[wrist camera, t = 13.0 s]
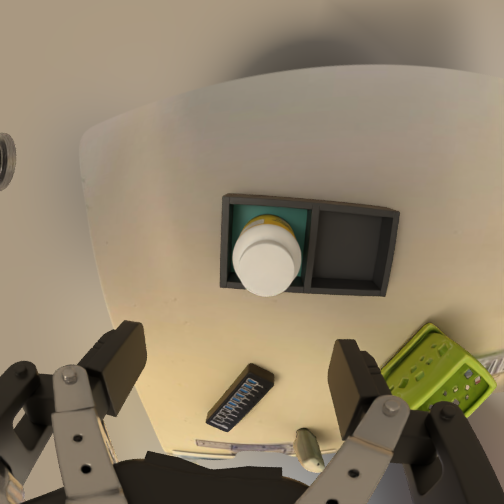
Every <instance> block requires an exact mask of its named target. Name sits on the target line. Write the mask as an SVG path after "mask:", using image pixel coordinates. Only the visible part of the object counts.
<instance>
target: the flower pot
mask: <svg viewBox="0 0 504 504" xmlns="http://www.w3.org/2000/svg"><path fill="white" fill-rule="evenodd" d="M469 369H470V370H471V371H472V373H473V374H472V376H471V377H469V378H468V379H467V378H466V376H465V375H464V374H465V373H466V372H467V371H468V370H469ZM381 374H382V375H383V377H384V379H385V381H386V383H387V385H388V387H389V389H390V391H391V393H392V395H394V396H397V397H400V398H402V399H403V400H404V401H406V402H407V404H408V405H409V408H410V409H412V410H420V411H430V409H429V406H430V405H434V404H435V403H437V402H440V401H448V402H453V401H454V400H455V399H457V400H458V401H459V405H458V406H459V407H460V408H461V410H462V411H463V413H464V415H465V417H466V418H467V417H468V416H470V414H472V413H473V411H475V410H476V409H477V408H478V407H479V406H480V405H481V404H482V403H483V402H484V401H485V399H486V398H487V397H488V396H489V395H490V394H491V393H492V392H493V391H494V389H495V388H496V386H497V384H496V382H495V380H494V378H493V377H492V376H491V374H490V373H489V372H488V371H487V370H486V369H485V367H484V366H483V365H482V364H481V363H480V362H479V361H478V360H477V359H476V358H474V357H473V356H472V355H471V354H470V353H469V352H468V351H466V350H465V349H464V348H463V347H461V346H460V345H459V344H457V343H456V342H454V341H453V340H451V339H450V338H448V337H447V336H446V335H445V334H444V333H443V332H442V331H441V330H440V329H438V328H437V327H436V326H435V325H433V324H432V323H427V324H426V325H424V326H423V327H422V329H421V330H420V331H419V332H418V333H417V334H416V335H415V336H414V337H413V338H412V339H411V340H410V341H409V342H408V343H407V344H406V345H405V346H404V347H403V348H402V349H401V350H400V352H399V353H398V354H397V355H396V356H395V357H394V358H393V359H392V360H391V361H390V362H389V363H388V364H387V365H386V366H385V367H384V368H383V369H382V370H381ZM478 376H480V380H481V381H480V383H478V384H475V379H476V378H477V377H478ZM466 385H469V386H470V388H469V390H466ZM455 387H457V388H458V390H457V391H456V392H454V388H455ZM445 391H446V392H447V395H446V396H445V395H444V392H445ZM467 395H468V396H469V397H468V399H466V396H467Z"/></svg>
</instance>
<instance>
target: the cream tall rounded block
mask: <svg viewBox="0 0 504 504" xmlns="http://www.w3.org/2000/svg"><path fill="white" fill-rule="evenodd" d="M296 433H297V436H296V440H295V442H294V444H293V448H294V450H295V453H296V456H297V458H298V460H299V462H300V463H301V465H302V466H303V467H304V468H305V469H307V470H308V471H311V472H322V471H323V470H324V468H325V465H324V461H323V458H322V455H321V452H320V448H319V445H318V442H317V440H316V437H315V436H314V435H313V434H312V433H311V432H310V431H309V430H308V429H306V428H302V429H299V430H298V431H297V432H296Z"/></svg>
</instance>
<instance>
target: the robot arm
mask: <svg viewBox="0 0 504 504" xmlns="http://www.w3.org/2000/svg"><path fill="white" fill-rule="evenodd" d="M3 165H4V152H3V147H2V145H1V143H0V177H1V174H2V170H3ZM146 360H147V351H146V344H145V336H144V328H143V325H142V323H140V322H133V321H127V320H124V321H123V322H122V323H121V324H120V326H119V327H118V328H117V329H116V330H114V329H113V330H111V331H109V332H107V333H105V334H104V335H103V336H102V337H101V338H100V339H99V340H98V342H96V343H95V345H94V346H93V348H91V349H90V350H89V351H88V353H87V354H86V355H85V356H84V357H83V358H82V359H81V361H80V362H79V363H78V364H77V365H66V366H63V367H61V368H59V369H58V370H57V371H55V373H54V374H53V375H49V374H38V371H37V369H36V366H35V365H34V364H33V363H31V362H28V361H20V362H17V363H15V364H13V365H11V366H10V367H9V368H8V369H7V370H6V371H5V372H4V374H3V375H1V377H0V504H367V502H368V500H369V498H370V497H371V495H372V494H373V492H374V490H375V489H376V487H377V485H378V483H379V481H380V480H381V478H382V476H383V474H384V472H385V470H386V468H387V467H388V465H389V463H402V465H403V468H404V472H405V475H406V479H407V482H408V486H409V490H410V493H411V498H412V501H413V504H504V492H503V490H502V487H501V485H500V483H499V481H498V479H497V476H496V474H495V472H494V470H493V468H492V466H491V464H490V462H489V460H488V458H487V456H486V454H485V452H484V450H483V448H482V446H481V444H480V442H479V440H478V439H477V437H476V435H475V433H474V431H473V429H472V427H471V426H470V424H469V422H468V420H467V418H466V417H465V415H464V413H463V411H462V410H461V408H460V407H459V406H457V405H456V404H454V403H452V402H448V401H440V402H437V403H435V404H434V405H433V406H432V408H431V409H430V411H420V410H412V409H410V408H409V405H408V404H407V402H406V401H404V400H403V399H402V398H400V397H397V396H394V395H392V393H391V391H390V389H389V387H388V385H387V383H386V381H385V379H384V377H383V375H382V374H381V371H380V369H379V367H378V365H377V363H376V361H375V359H374V358H373V357H372V356H371V355H370V354H369V353H368V352H366V351H360V349H359V347H358V345H357V343H356V341H355V340H354V339H337V340H336V341H335V344H334V348H333V353H332V357H331V361H330V365H329V369H328V384H329V388H330V392H331V396H332V400H333V404H334V408H335V412H336V416H337V421H338V425H339V429H340V433H341V437H342V441H345V442H344V443H343V445H342V446H341V447H340V449H339V450H338V451H337V453H336V454H335V456H334V457H333V458H332V460H331V461H330V462H329V463H328V465H327V466H326V467H325V468H324V470H323V471H322V472H321V474H320V475H319V476H318V477H317V478H316V480H315V481H314V482H313V483H312V484H311V486H308V485H306V484H304V483H302V482H300V481H297V480H295V479H292V478H288V477H284V476H282V467H254V466H246V467H238V468H227V469H214V470H213V469H208V468H205V467H203V466H200V465H197V464H194V463H192V462H189V461H187V460H184V459H182V458H179V457H174V456H169V455H164V454H160V453H155V452H151V451H147V454H146V456H145V459H132V460H125V461H121V462H119V461H118V459H117V456H116V454H115V451H114V449H113V446H112V443H111V441H110V438H109V435H108V432H107V429H106V426H105V423H104V420H103V419H104V417H105V415H106V414H107V415H111V416H114V417H116V416H117V415H118V413H119V411H120V409H121V407H122V406H123V404H124V402H125V400H126V399H127V397H128V395H129V393H130V391H131V390H132V388H133V386H134V384H135V383H136V381H137V379H138V377H139V376H140V374H141V372H142V370H143V369H144V367H145V364H146ZM21 408H23V409H24V411H25V415H24V416H23V417H22V419H21V420H20V421H19V423H18V424H17V426H16V427H15V428H14V429H13V420H14V417H15V416H16V414H17V413H18V412H19V411H20V409H21ZM52 433H53V434H54V441H55V447H56V452H57V458H58V463H59V468H60V472H61V477H62V481H63V485H64V487H62V488H60V489H57V490H55V491H52V492H50V493H47V494H44V495H42V496H39V497H36V498H33V499H30V500H28V501H25V499H24V489H23V485H24V483H25V481H26V479H27V478H28V476H29V474H30V472H31V470H32V468H33V467H34V465H35V463H36V461H37V459H38V458H39V456H40V454H41V452H42V450H43V449H44V447H45V445H46V444H47V442H48V440H49V439H50V437H51V435H52Z"/></svg>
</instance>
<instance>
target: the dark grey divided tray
mask: <svg viewBox="0 0 504 504" xmlns="http://www.w3.org/2000/svg"><path fill="white" fill-rule="evenodd" d="M263 214H272V215H276V216H279V217H281V218H282V219H284V220H285V221H286V222H287V223H288V224H289V225H290V226H291V228H292V230H293V232H294V235H295V237H296V240H297V242H298V244H299V247H300V251H301V266H300V269H299V272H298V274H297V276H296V277H295V278H294V280H293V281H292V282H291V284H290V285H289V287H288V288H287V289H286V290H285V291H283V292H292V293H308V294H310V293H311V294H330V295H354V296H380V297H385V296H386V291H387V286H388V282H389V277H390V272H391V266H392V261H393V255H394V250H395V243H396V237H397V230H398V223H399V216H400V212H399V211H396V210H393V209H390V208H387V207H380V206H372V205H363V204H354V203H345V202H335V201H325V200H314V199H303V198H291V197H277V196H262V195H246V194H226V195H224V196H223V197H222V222H221V254H220V288H234V289H246V288H245V287H244V285H243V284H242V282H241V280H240V278H239V277H238V275H237V274H236V272H235V269H234V266H233V250H234V247H235V244H236V242H237V240H238V238H239V236H240V234H241V232H242V230H243V228H244V226H245V225H246V224H247V223H248V222H249V221H250V220H251V219H252V218H254V217H256V216H259V215H263Z"/></svg>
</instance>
